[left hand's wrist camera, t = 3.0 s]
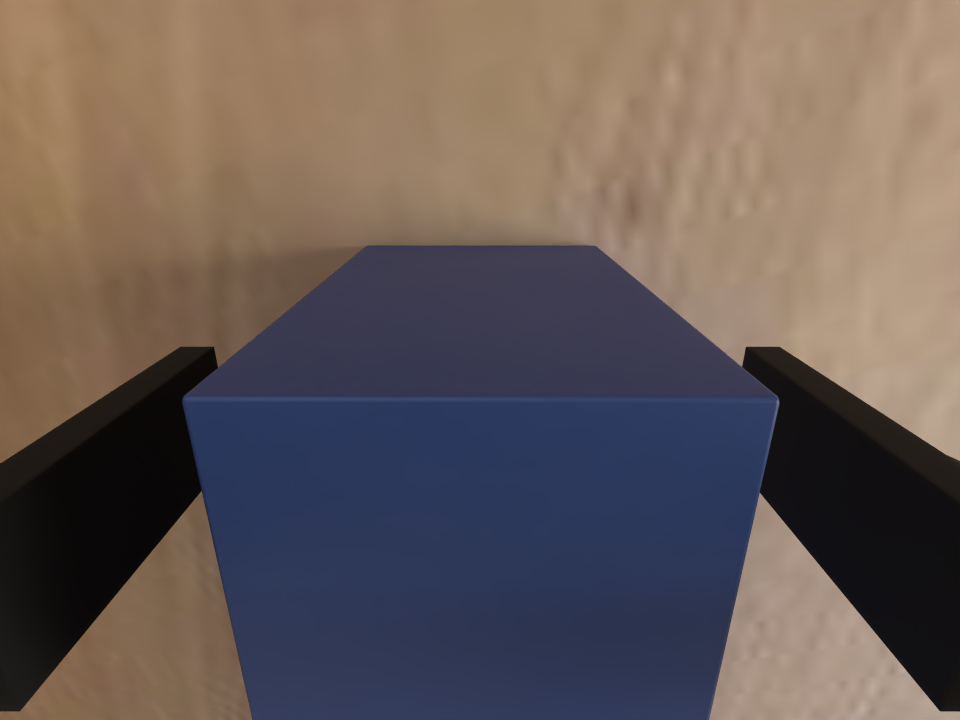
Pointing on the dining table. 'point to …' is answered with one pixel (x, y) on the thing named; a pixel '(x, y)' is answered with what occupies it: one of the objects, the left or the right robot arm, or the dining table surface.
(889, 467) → the left robot arm
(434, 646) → the bar
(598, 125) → the dining table surface
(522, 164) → the dining table surface
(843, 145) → the dining table surface
